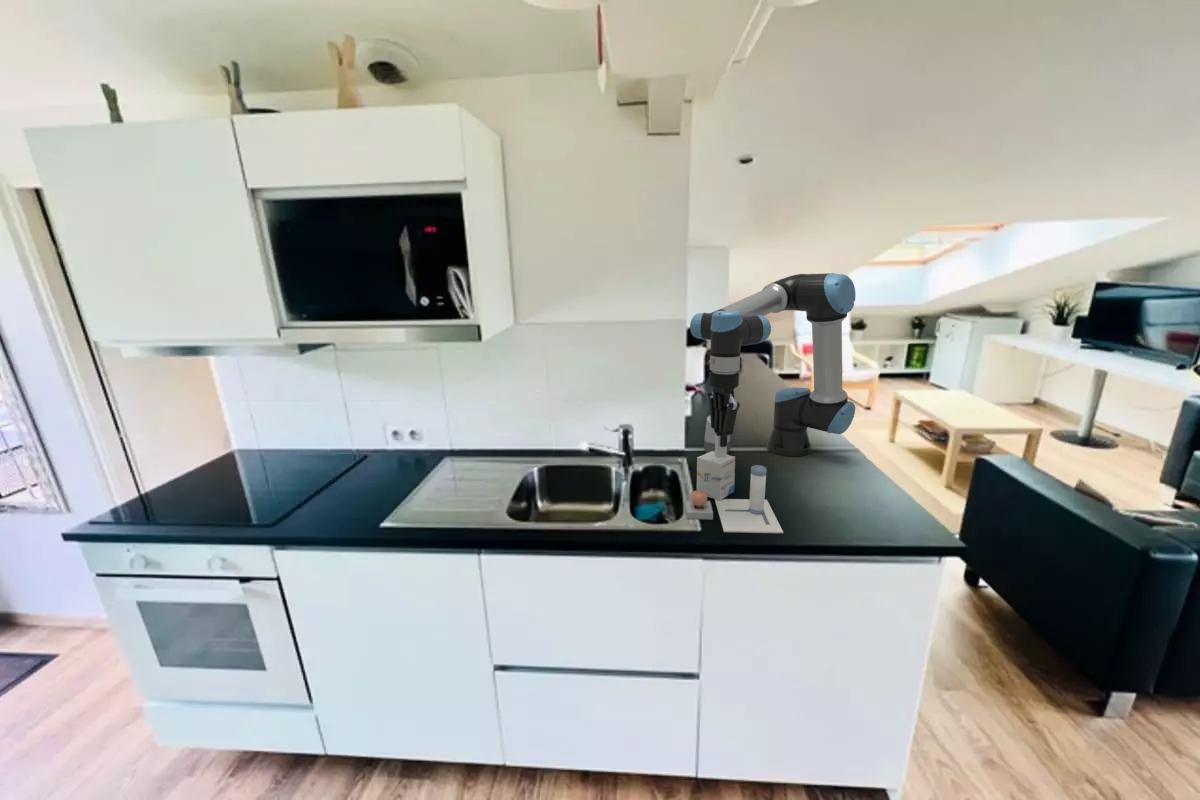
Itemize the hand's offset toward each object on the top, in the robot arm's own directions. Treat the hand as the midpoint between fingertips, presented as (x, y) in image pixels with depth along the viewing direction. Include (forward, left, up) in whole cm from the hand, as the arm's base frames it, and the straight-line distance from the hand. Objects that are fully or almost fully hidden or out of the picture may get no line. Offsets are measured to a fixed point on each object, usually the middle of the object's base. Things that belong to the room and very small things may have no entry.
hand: (720, 456), depth 132 cm
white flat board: (+1, +8, -17) cm, 19 cm away
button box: (0, -5, -17) cm, 18 cm away
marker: (-1, +11, -17) cm, 20 cm away
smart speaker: (-45, +6, -17) cm, 49 cm away
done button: (0, -5, -16) cm, 16 cm away
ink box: (-13, +1, -17) cm, 21 cm away
